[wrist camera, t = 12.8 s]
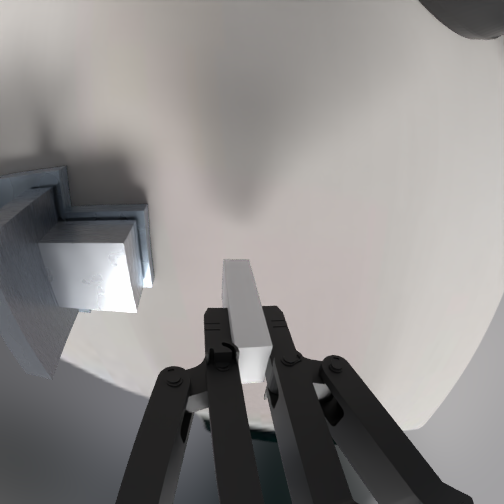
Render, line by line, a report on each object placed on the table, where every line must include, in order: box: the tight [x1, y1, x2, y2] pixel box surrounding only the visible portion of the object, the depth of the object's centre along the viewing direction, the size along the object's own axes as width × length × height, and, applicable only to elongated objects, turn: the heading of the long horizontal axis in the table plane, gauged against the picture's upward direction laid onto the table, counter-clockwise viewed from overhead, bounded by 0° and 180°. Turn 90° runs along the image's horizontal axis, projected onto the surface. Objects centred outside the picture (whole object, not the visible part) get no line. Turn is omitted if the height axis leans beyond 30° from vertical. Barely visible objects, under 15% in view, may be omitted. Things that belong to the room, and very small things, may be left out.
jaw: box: [0, 187, 144, 379], centre depth 13 cm, size 10×9×8 cm
